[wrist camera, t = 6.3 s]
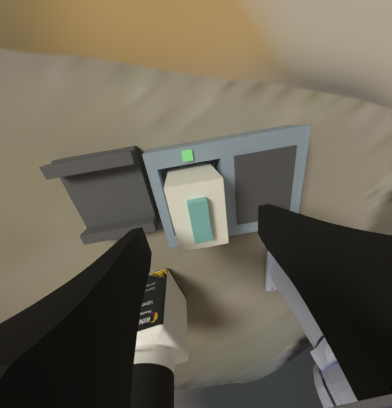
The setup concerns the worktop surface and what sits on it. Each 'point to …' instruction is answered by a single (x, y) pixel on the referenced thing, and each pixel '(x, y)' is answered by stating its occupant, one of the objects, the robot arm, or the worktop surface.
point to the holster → (107, 192)
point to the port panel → (239, 172)
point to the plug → (197, 205)
